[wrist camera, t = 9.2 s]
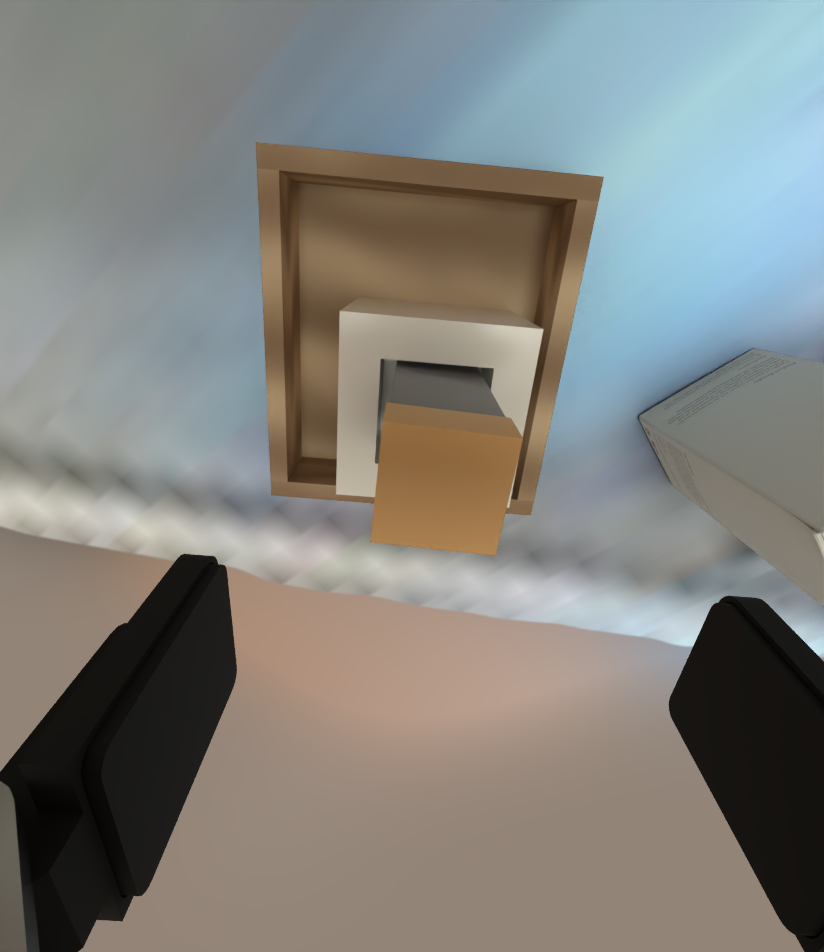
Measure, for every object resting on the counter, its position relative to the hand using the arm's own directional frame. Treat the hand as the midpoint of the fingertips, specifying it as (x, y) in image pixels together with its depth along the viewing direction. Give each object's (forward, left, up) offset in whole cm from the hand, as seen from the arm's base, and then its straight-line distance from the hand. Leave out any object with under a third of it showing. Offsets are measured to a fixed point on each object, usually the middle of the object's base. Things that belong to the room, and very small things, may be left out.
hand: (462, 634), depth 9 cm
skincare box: (+1, +19, -24) cm, 30 cm away
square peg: (0, 0, -18) cm, 18 cm away
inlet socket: (0, 0, -23) cm, 23 cm away
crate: (-2, -1, -23) cm, 23 cm away
